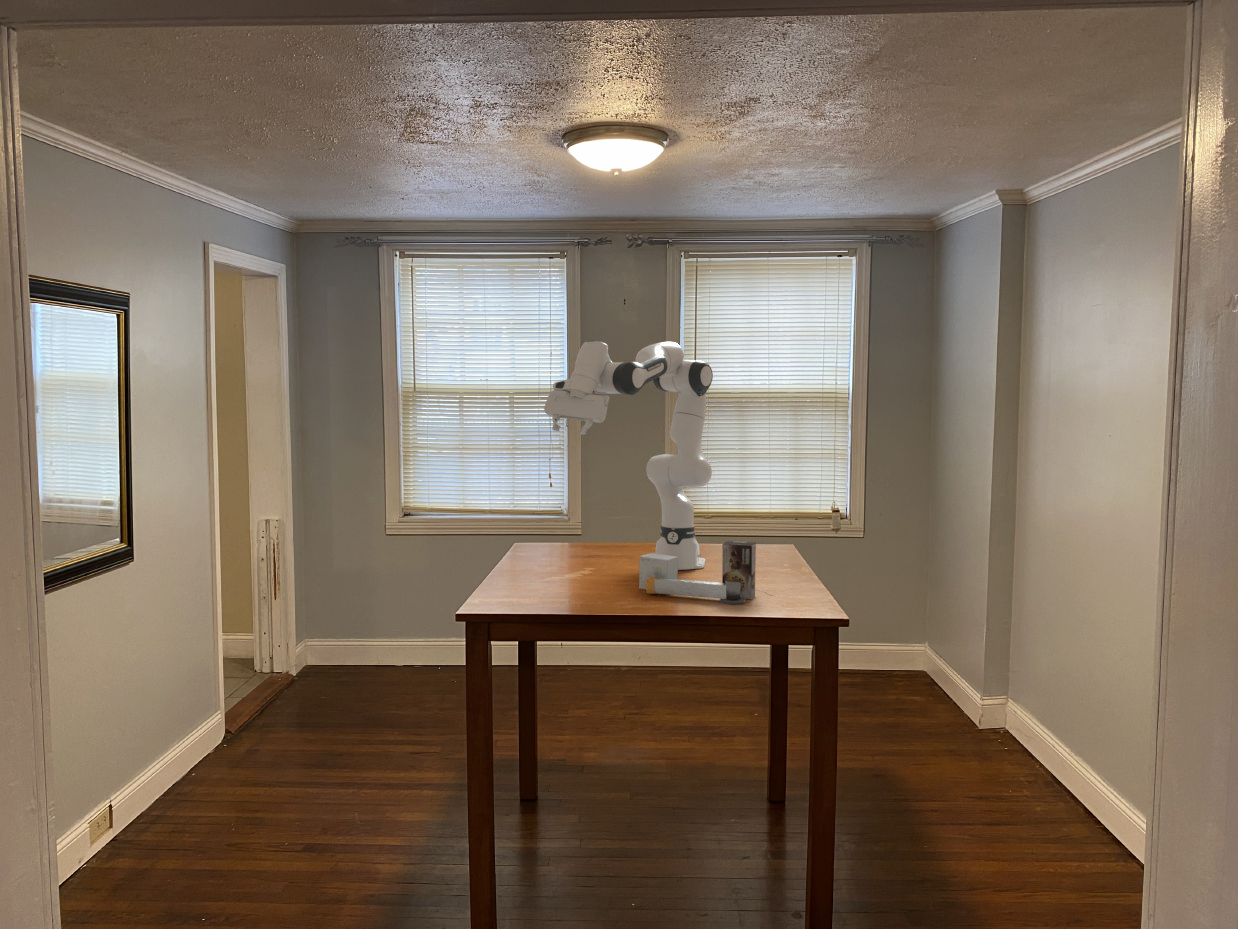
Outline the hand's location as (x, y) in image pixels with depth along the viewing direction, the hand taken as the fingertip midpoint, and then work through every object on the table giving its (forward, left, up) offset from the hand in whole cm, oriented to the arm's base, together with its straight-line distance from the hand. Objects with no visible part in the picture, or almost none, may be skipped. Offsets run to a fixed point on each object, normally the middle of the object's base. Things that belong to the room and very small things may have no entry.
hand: (568, 432), depth 264 cm
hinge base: (-6, +49, -48) cm, 69 cm away
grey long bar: (-6, +37, -47) cm, 61 cm away
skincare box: (-14, +24, -48) cm, 56 cm away
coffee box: (-14, +49, -48) cm, 70 cm away
